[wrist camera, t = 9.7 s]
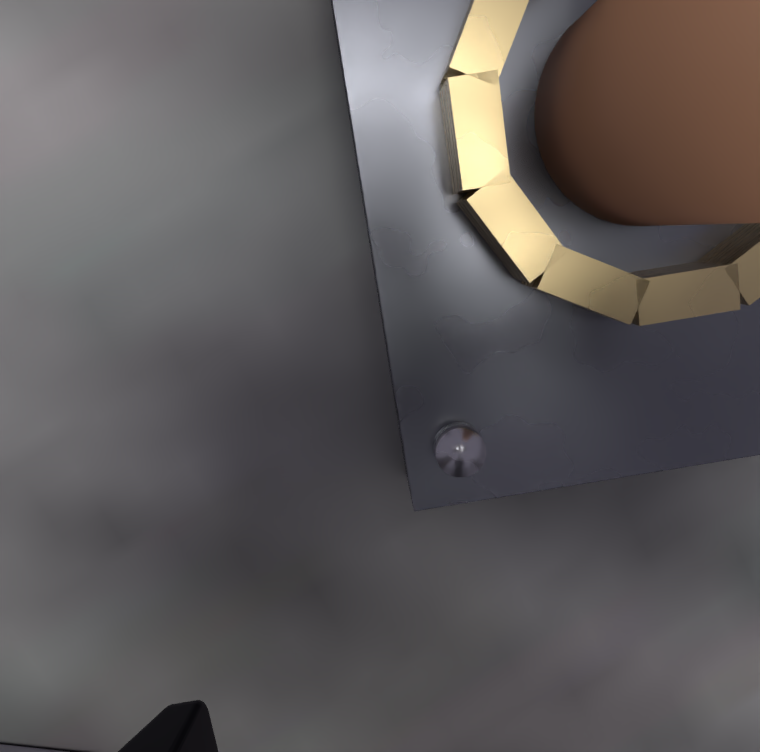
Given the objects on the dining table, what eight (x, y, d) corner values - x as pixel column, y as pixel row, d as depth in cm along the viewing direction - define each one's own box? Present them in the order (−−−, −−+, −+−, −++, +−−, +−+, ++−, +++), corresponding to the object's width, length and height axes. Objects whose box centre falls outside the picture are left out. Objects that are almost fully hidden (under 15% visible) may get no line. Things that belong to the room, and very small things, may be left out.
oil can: (760, 206, 16) (1084, 186, 9) (547, 242, 16) (700, 250, 9) (744, -136, 15) (1117, -488, 8) (510, -98, 15) (658, -413, 7)
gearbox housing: (859, 402, 20) (984, 445, 16) (406, 476, 20) (419, 537, 16) (844, -451, 16) (1006, -677, 12) (273, -357, 16) (245, -554, 12)
